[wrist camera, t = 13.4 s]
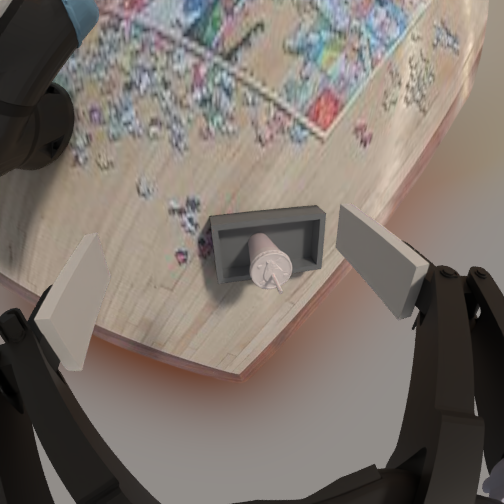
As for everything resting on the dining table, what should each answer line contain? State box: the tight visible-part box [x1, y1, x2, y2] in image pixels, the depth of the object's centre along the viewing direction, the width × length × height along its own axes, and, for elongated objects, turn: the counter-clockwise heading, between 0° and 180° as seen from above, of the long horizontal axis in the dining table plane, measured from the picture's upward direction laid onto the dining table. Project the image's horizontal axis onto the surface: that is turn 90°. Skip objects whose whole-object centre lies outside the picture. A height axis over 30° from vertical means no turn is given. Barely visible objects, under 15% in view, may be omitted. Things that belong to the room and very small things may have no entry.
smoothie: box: [248, 233, 292, 294], centre depth 43 cm, size 6×6×14 cm
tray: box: [210, 205, 326, 284], centre depth 49 cm, size 11×19×4 cm, turn 92°
